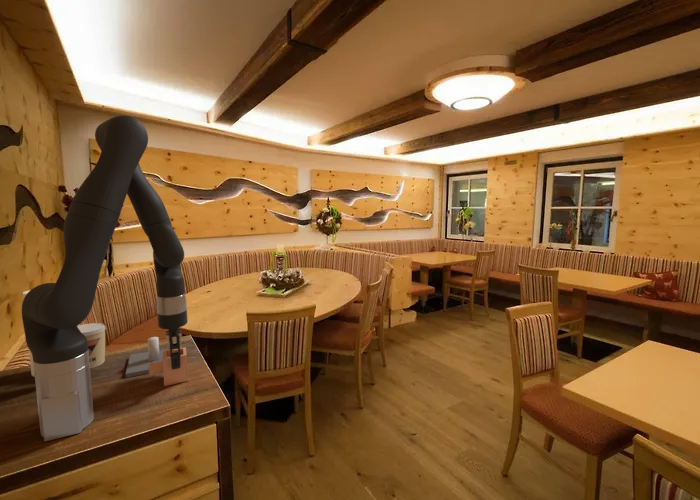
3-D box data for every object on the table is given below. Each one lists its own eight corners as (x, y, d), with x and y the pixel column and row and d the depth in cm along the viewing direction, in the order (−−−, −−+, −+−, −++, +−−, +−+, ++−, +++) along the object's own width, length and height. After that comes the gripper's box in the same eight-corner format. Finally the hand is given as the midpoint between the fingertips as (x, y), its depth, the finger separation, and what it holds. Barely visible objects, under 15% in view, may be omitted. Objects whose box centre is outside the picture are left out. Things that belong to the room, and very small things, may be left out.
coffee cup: (64, 373, 96) (60, 335, 95) (77, 359, 105) (74, 324, 103) (102, 368, 100) (99, 331, 98) (111, 355, 108) (109, 321, 107)
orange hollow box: (187, 380, 94) (186, 355, 93) (149, 389, 89) (147, 361, 88) (186, 371, 99) (185, 347, 98) (150, 379, 94) (148, 353, 93)
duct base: (179, 367, 101) (178, 342, 100) (125, 377, 95) (123, 351, 94) (178, 350, 113) (177, 327, 112) (130, 358, 107) (129, 334, 106)
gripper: (188, 315, 88) (191, 369, 91) (185, 301, 101) (187, 349, 103) (156, 319, 85) (161, 376, 87) (157, 304, 97) (160, 354, 99)
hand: (175, 361), depth 95 cm, fingers open, 8 cm apart
